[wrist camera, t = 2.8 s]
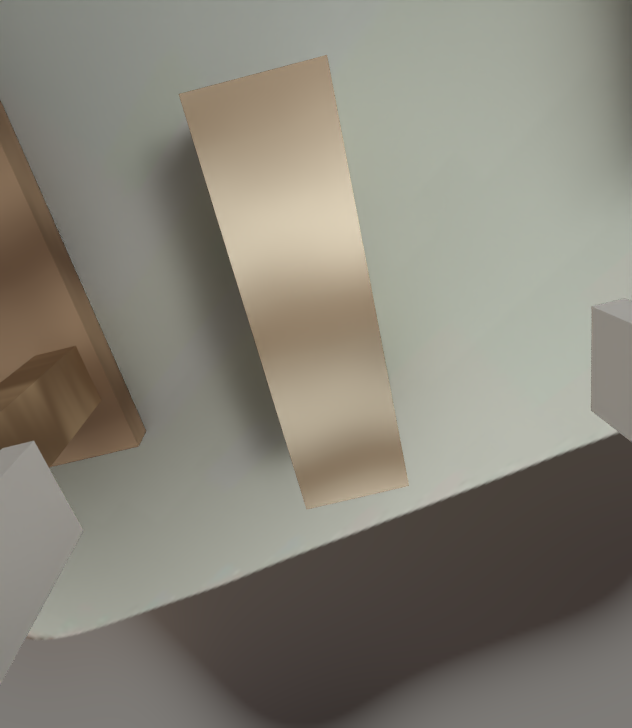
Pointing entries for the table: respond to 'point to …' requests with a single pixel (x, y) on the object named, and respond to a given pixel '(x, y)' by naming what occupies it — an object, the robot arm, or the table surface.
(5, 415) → the wooden block assembly
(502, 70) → the table surface
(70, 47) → the table surface
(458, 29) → the table surface
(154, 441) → the table surface
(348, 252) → the cream wooden block
